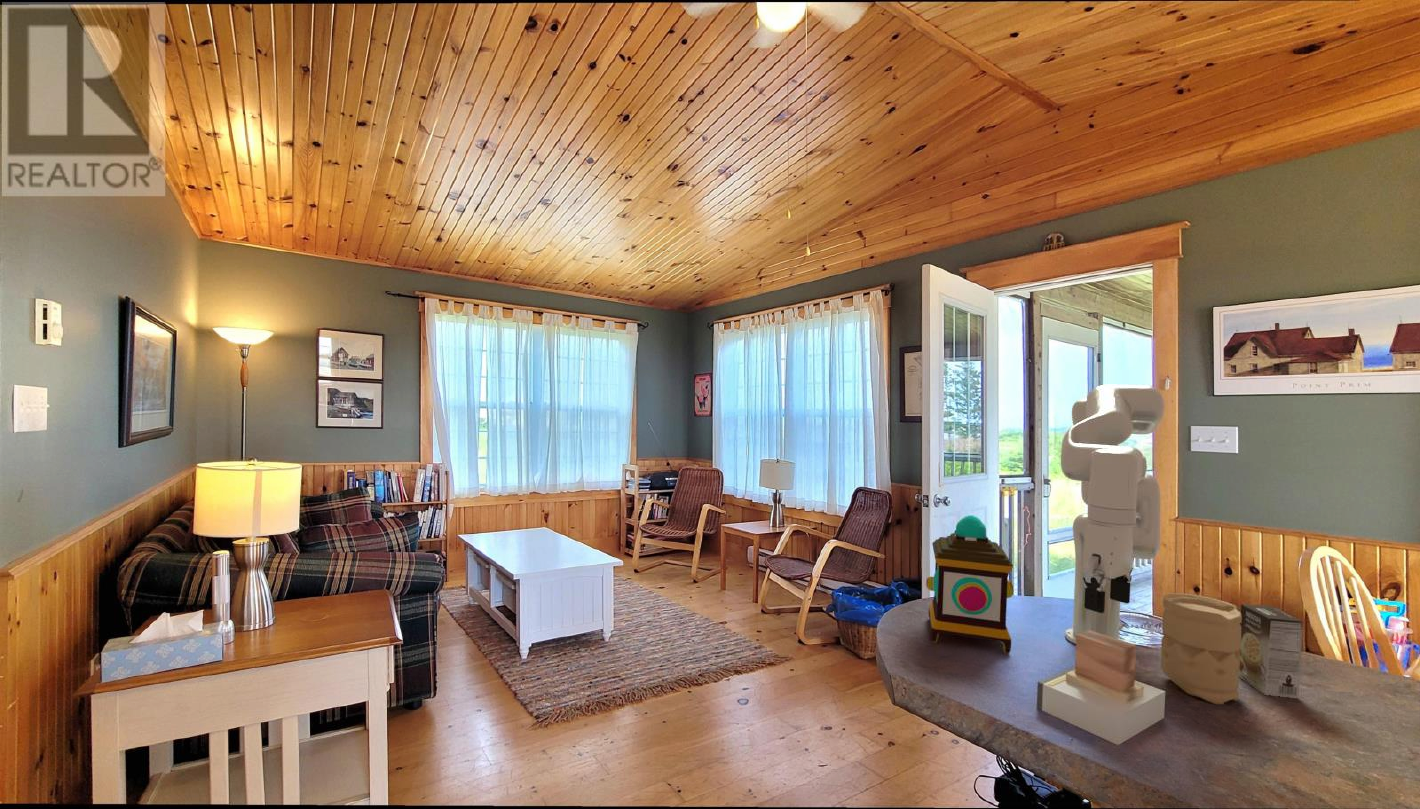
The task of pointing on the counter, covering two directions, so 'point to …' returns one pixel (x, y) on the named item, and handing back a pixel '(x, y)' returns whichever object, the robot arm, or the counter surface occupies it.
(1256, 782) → the counter surface
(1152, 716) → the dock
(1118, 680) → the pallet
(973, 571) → the decorative lantern
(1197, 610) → the container
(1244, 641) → the coffee box
